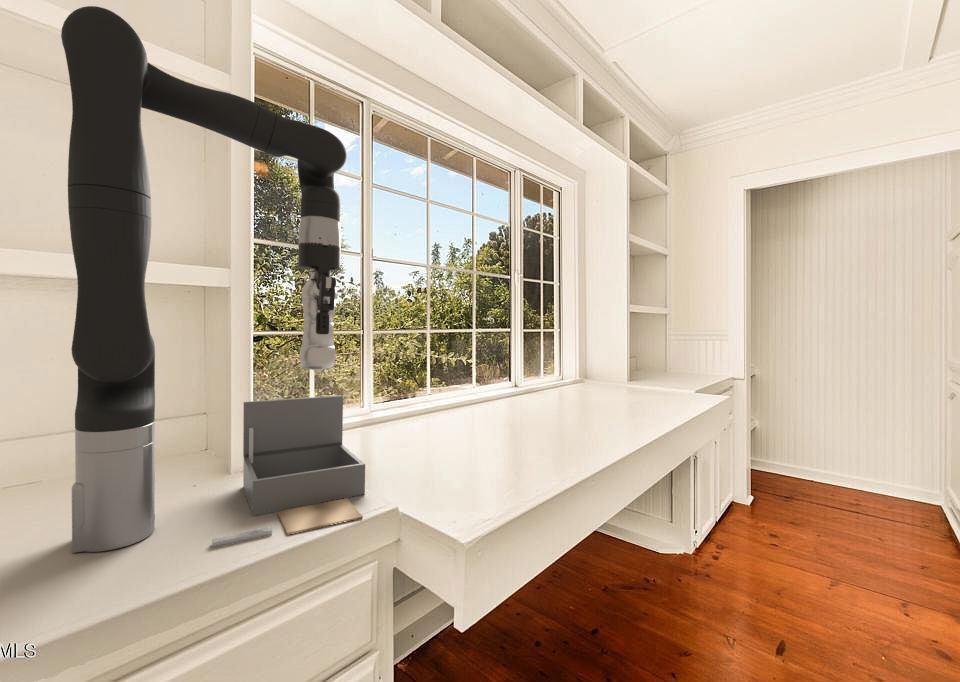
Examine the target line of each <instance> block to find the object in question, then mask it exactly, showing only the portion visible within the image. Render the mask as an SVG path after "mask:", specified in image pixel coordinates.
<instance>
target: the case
mask: <svg viewBox="0 0 960 682" xmlns="http://www.w3.org/2000/svg"><path fill="white" fill-rule="evenodd" d="M343 406H344V396H343V395H341V394H340V395H328V396H327V395H326V396H315V397H312V396H311V397H299V398H283V399H281V398H280V399H269V400H268V399H267V400H253V401H249V400H248V401H243V417H242V419H243V420H242V422H243V424H242V425H243V428H242V429H243V430H242V431H243V432H242V434H243V435H242V436H243V437H242V438H243V440H242V446H243V447H242V454H243V456H242V457H243V477H242V478H243V479H242V480H243V485H242V486H243V487H242V488H243V489H244V494H245V496H246V499H247V502H248V507H249V509H250V512H251V515H252V517H257V516H260V515H265V514H269V513H276V512H279V511H284V510H289V509H294V508H300V507H305V506H310V505H315V504H317V503H318V504H320V503H322V502H323V503H325V502H327V501H328V502H331V500H333V501H336V499H339V500H341V498H344V499H346V498H347V497H349V498H353V497H352V496H354V497H357V496H356V495H359V496H362V495H361V494H365V495H366V493H365V492H366V463H365V462H363V461H362V460H361V459H360V458H359V457H358V456H356V455H355V454H354V453H353V452H351V451H350V449H348V448H347V447H346V446H344V444H343V431H344V430H343V429H344V428H343V421H344V420H343V419H344V411H343V410H344V407H343ZM347 499H348V498H347Z"/></svg>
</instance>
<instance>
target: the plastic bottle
mask: <svg viewBox="0 0 960 682" xmlns="http://www.w3.org/2000/svg"><path fill="white" fill-rule="evenodd" d="M308 273H309V274H311V277H310V278H311V279H315V270H314V269H310V271H309V270H308ZM331 273H332V272H330V276H331V275H332V274H331ZM309 274H308V275H309ZM308 279H309V278H308ZM309 280H310V279H309ZM309 280H308V281H307V282H306V284H305V285H304V284H303V286H302V290H301V297H302V298H301V302H302V310H303V311H302V312H303V330H302V331H303V332H302V333H303V334H302V341H301V346H300V349H299V356H298V358H299V364H300V365H301V368H304V369H307V370H311V371H324V370H327V369H330V368H333V366H334V365H335V364H336V358H337V354H336V346H335V337H334V334H335V333H334V321H335V312H336V306H337V302H338V300H337V299H338V291H337V287H335V299H334V310H331V314H329V333H328V334H317V333H316V314H319V313H316V302H314V301H313V290H314V292H315V293H316V295H317V296H319V289H317V286H316V282H314V285H313V286H311V284H310V281H309ZM325 290H326V289H325ZM328 290H329V289H328ZM323 303H327V302H326V301H323Z"/></svg>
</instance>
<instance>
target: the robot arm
mask: <svg viewBox="0 0 960 682" xmlns="http://www.w3.org/2000/svg"><path fill="white" fill-rule="evenodd" d="M61 27H62V28H61V33H60V37H61V43H62V46H63V49H64V55H65V59H66V65H67V71H68V78H69V84H70V93H71V103H72V116H71V125H70V126H71V127H70V134H69V146H68V159H67V160H68V162H67V164H68V165H67V169H68V170H67V171H68V173H67V203H68V205H67V206H68V220H69V230H70V239H71V247H72V248H71V249H72V253H73V254H72V255H73V259H74V266H75V270H76V277H77V278H76V279H77V300H76V310H75V322H74V327H73V336H72V343H71V355H72V356H71V357H72V360H73V362H74V364H75V365H76V367H77V397H76V403H75V404H76V405H75V411H74V437H75V438H74V439H75V440H74V441H75V442H74V447H75V449H74V454H75V463H74V465H75V470H74V471H75V473H74V474H75V482H74V483H73V484H72V486H71V552H72V553H75V554H76V553H79V552H90V553H91V552H92V553H94V552H98V553H99V552H105V551H111V550H116V549H120V548H125V547H128V546H130V545H133V544H136V543H138V542H140V541H143V540H144V539H146V538H148V537H150V536H151V535H152V534H153V533H154V532H155V526H156V525H155V521H156V514H155V512H156V511H155V507H156V505H155V503H156V501H155V498H156V497H155V494H156V493H155V488H156V487H155V486H156V485H155V483H156V480H155V476H156V475H155V463H156V462H155V461H156V459H155V457H156V456H155V452H156V451H155V449H156V448H155V445H156V444H155V443H156V442H155V436H156V435H155V419H156V418H155V412H156V411H155V410H156V409H155V407H156V405H155V404H156V388H155V382H156V381H155V379H156V378H155V377H156V367H155V366H156V364H155V363H156V350H155V349H156V348H155V347H156V346H155V340H154V338H153V336H152V335H151V329H150V324H149V323H150V322H149V318H148V311H147V303H146V293H145V292H146V291H145V288H146V285H145V281H146V273H147V267H148V261H149V256H150V255H149V254H150V247H151V237H152V200H151V197H152V196H151V185H150V177H149V176H150V175H149V169H148V168H149V167H148V160H147V154H146V153H147V152H146V149H145V143H144V138H143V131H142V130H143V129H142V109H146V110H150V111H152V112H157V113H159V114H163V115H166V116H169V117H172V118H175V119H178V120H182V121H185V122H187V123H190V124H193V125H196V126H199V127H201V128H204V129H207V130H210V131H212V132H215V133H216V134H220V135H221V136H225V137H228V138H229V139H231V140H234V141H235V142H236V141H237V142H238V143H241V144H243V145H245V146H248V147H251V149H252V148H253V149H255V150H257V151H260V152H262V153H264V154H266V155H270V156H273V157H276V158H282V157H291V158H294V159H297V174H298V180H299V182H298V183H299V188H300V193H301V197H300V198H301V199H300V222H299V226H298V227H299V228H298V248H297V249H298V254H297V255H298V258H297V260H298V261H297V265H298V268H299V269H302V270H305V271H308V272H309V271H310V269H314V270H315V279H311V278H310V277H311V274H308V275H309V276H308V279H306V280H305V281H304V283H303V286H304V285H305V284H306V282H307V281H308V280H309V279H310V280H309V281H310V284H311V286H313V285H314V282H316V286H317V289H319V296H317V295H316V293H315V292H314V290H313V301H314V302H316V313H319V314H316V333H317V334H328V333H329V314H331V310H334V299H335V288H336V284H337V283H336V282H337V280H336V277H333V276H331V275H330V273H333V272H334V273H335V272H339V271H340V270H341V257H342V256H341V252H342V249H341V248H342V244H341V243H342V230H341V199H340V198H341V197H340V195H339V193H338V192H337V191H336V190H335V180H334V179H335V178H334V177H335V173H337V172H338V171H340V170H341V169H342V168H343V167H344V166H345V164H346V161H347V157H348V156H347V150H346V147H345V145H344V143H343V142H342V141H341V139H340V138H339V137H337V136H336V135H334V133H332V132H330V131H328V130H327V129H325V128H322V127H319V126H316V125H313V124H309V123H305V122H303V121H299V120H294V119H290V118H286V117H284V116H282V115H281V114H279V113H276V112H275V111H273V110H270V109H269V108H267V107H264V106H263V105H260V104H258V103H257V102H254V101H252V100H249V99H247V98H245V97H242V96H239V95H237V94H233V93H229V92H225V91H222V90H218V89H217V90H216V89H211V88H209V87H208V88H207V87H205V86H204V87H203V86H200V85H196V84H194V83H190V82H188V81H184V80H183V79H179V78H177V77H175V76H174V75H171V74H169V73H167V72H165V71H163V70H161V69H160V68H158V67H157V66H155V65H153V64H151V63H150V62H148V55H147V52H146V49H145V46H144V44H143V42H142V40H141V38H140V36H139V34H138V33H137V32H136V31H135V30H134V28H133V27H132V26H131V25H130V23H128V22H127V21H126V20H125V19H124V18H122V17H121V16H120V15H118V14H116V13H115V12H114V11H112V10H109V9H107V8H104V7H101V6H97V5H95V6H94V5H93V6H92V5H88V6H83V7H80V8H77V9H74V10H73V11H72V12H71V13H70V14H68V16H67V17H66V18H65V20H64V21H63V25H62V26H61ZM325 289H326V290H325ZM328 289H329V290H328ZM323 301H326V302H327V303H323Z"/></svg>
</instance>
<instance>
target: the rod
mask: <svg viewBox="0 0 960 682" xmlns="http://www.w3.org/2000/svg"><path fill="white" fill-rule="evenodd" d="M268 535H270V536H272V535H273V529H272V526H268V527H262V528H258V529H254V530H253V529H252V530H249V531H244V532H240V533H235V534H230V535H226V536H221V537H220V536H219V537H216V538H212V539H211V548H212V549H215V548H220V547H221V548H222V547H225V546H229V545H228V544H230V545H233V544H232V543H234V544H238V543H237V542H239V543H242V542H247V541H252V540H256V539H260V538H259V537H261V538H265V537H269V536H268ZM264 536H265V537H264ZM255 538H256V539H255ZM251 539H252V540H251ZM224 545H225V546H224Z"/></svg>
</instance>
